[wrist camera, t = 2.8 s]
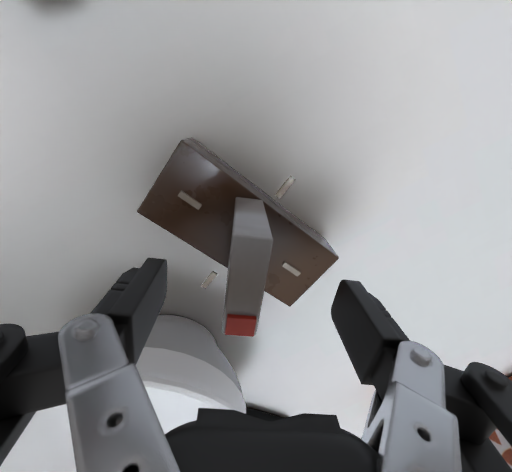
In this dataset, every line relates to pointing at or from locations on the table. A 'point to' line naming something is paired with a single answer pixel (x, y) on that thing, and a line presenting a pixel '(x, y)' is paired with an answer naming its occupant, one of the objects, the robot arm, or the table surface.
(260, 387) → the table surface
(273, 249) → the base
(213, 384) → the bowl
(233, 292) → the tap handle
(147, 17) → the table surface
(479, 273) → the table surface
